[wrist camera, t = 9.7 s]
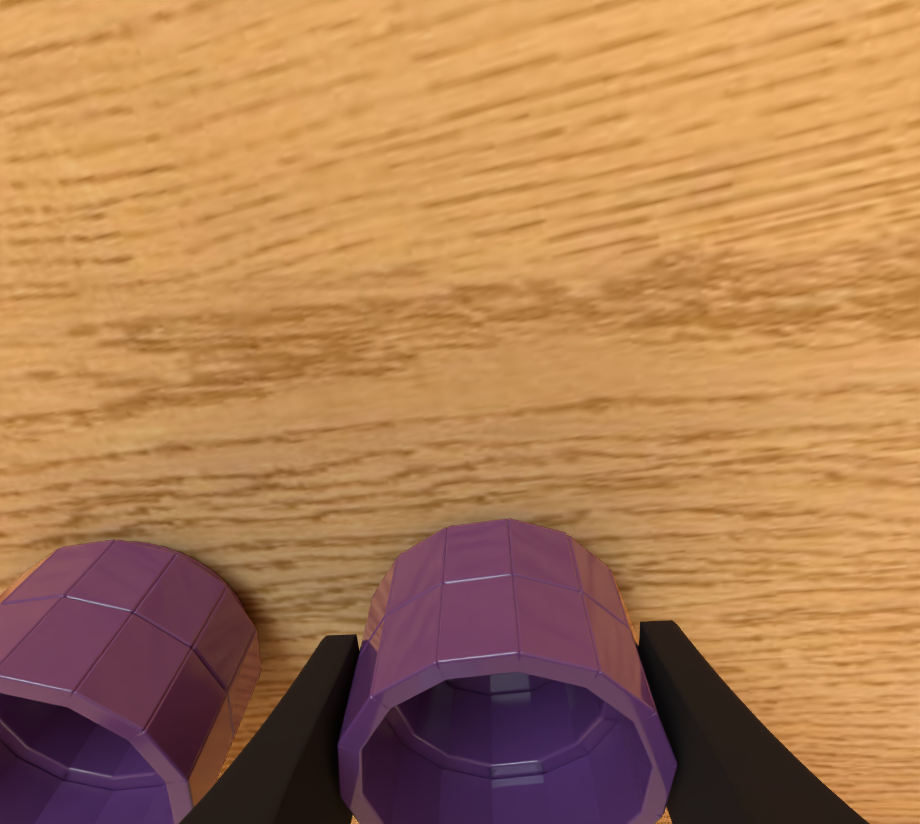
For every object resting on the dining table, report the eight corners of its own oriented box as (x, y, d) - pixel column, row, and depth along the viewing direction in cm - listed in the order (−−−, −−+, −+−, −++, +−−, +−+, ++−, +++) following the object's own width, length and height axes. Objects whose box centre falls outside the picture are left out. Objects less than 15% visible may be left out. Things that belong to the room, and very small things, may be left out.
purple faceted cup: (191, 743, 15) (102, 929, 12) (-13, 629, 14) (-186, 798, 10) (316, 621, 14) (257, 793, 10) (98, 478, 12) (-62, 617, 9)
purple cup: (504, 732, 15) (514, 921, 11) (324, 614, 14) (269, 784, 10) (672, 605, 13) (748, 779, 10) (487, 456, 12) (492, 590, 8)
